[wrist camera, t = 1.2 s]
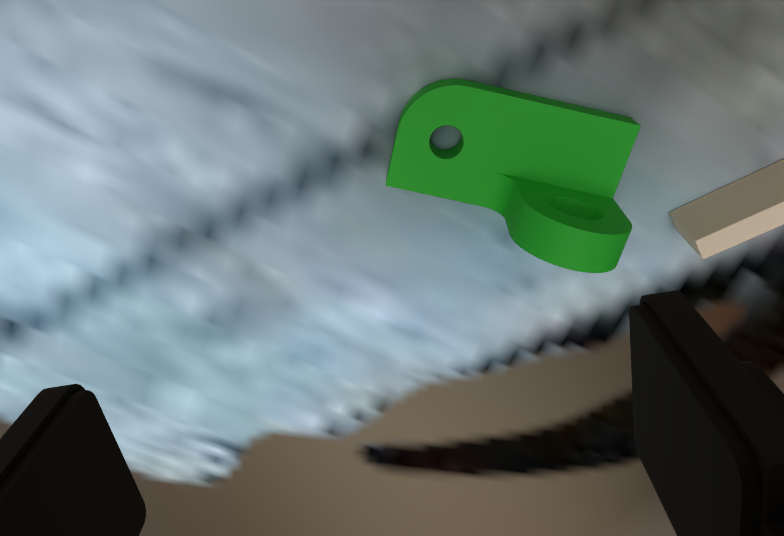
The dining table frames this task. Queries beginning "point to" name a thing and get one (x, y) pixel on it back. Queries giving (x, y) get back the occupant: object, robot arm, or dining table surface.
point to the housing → (733, 212)
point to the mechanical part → (523, 167)
